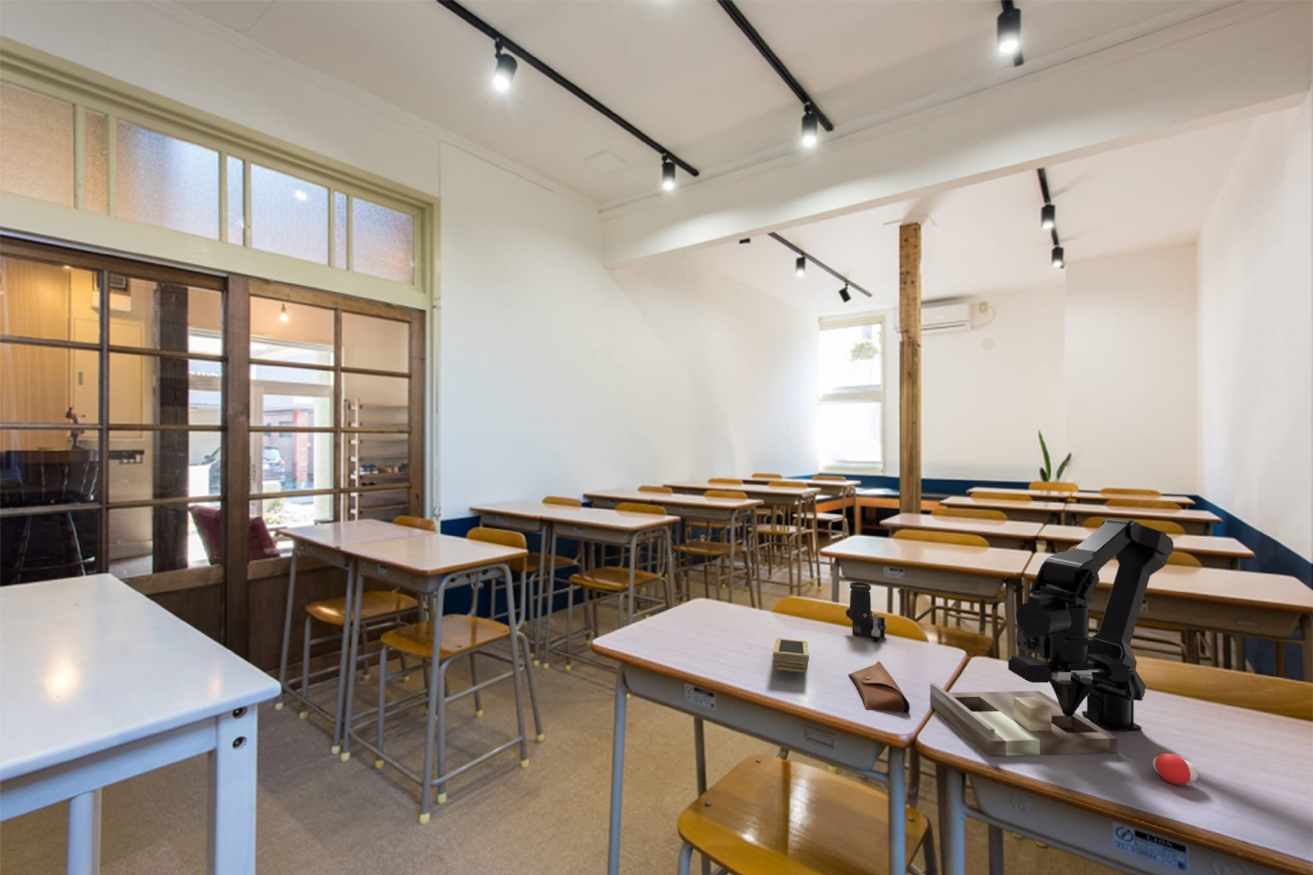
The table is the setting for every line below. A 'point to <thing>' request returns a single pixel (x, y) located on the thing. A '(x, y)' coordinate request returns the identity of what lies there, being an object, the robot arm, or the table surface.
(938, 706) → the trap box
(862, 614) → the scope
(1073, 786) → the table surface
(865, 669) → the sunglasses case
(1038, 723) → the block
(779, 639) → the box
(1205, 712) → the table surface
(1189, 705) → the table surface
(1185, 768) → the molecule
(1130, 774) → the table surface
